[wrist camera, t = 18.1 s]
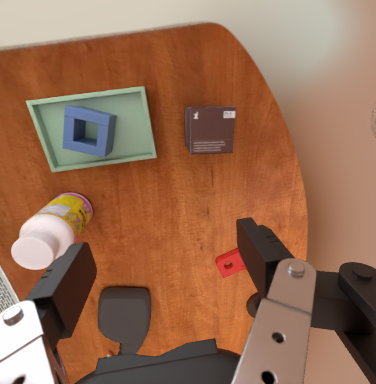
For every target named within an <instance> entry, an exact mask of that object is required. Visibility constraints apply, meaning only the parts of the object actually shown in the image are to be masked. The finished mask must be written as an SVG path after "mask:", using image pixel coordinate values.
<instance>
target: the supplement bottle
mask: <svg viewBox="0 0 376 384" xmlns="http://www.w3.org/2000/svg"><path fill="white" fill-rule="evenodd" d="M92 213H93V211H92V206H91V204H90V202H89V201H88V200H87V199H86V198H85V197H83V196H82V195H80V194H77V193H63V194H61V195H59V196H57V197H56V198H55V199H53V200H52V201H51V202H50V203H48V204H47V205H46V206H45V207H44V208H42V209H41V210H40V211H39V212H38V213H36V214H35V215H34V216H33V217H31V218H30V219H29V220H28V221H26V222H25V223H24V225H23V226H22V228H21V230H20V234H19V239H18V240H17V241H16V242H15V243H14V244H13V246H12V249H11V253H12V257H13V259H14V260H15V261H16V262H17V263H18V264H19V265H21V266H22V267H25V268H27V269H33V270H38V269H43V268H46V267H47V266H49V265H50V264H51V263H52V261H53V260H54V259H56V258H58V257H60V256H61V255H63V254H64V253H65V252H66V250H67V249H68V247H69V246H70V245H71V244H74V243H75V242H76V240H77V239H78V237H79V236H80V234H81V233H82V231H83V230H84V229H85V227H86V226H87V224H88V223H89V221H90V220H91V218H92Z"/></svg>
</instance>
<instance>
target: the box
mask: <svg viewBox="0 0 376 384" xmlns="http://www.w3.org/2000/svg"><path fill="white" fill-rule="evenodd" d="M235 114H236V107H235V106H196V107H185V141H186V147H187V149H188V150H189V152H190V154H220V153H233V144H234V128H235Z"/></svg>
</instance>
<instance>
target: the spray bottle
mask: <svg viewBox="0 0 376 384" xmlns="http://www.w3.org/2000/svg"><path fill="white" fill-rule="evenodd" d="M150 318H151V301H150V294H149V292H148V291H147V290H146V289H145V288H127V287H110V288H107V289H105V290H104V291H103V292H102V293H101V295H100V298H99V306H98V328H99V330H100V331H101V333H102V334H103V335H104V336H105V337H106V338H109V339H111V340H113V341H115V342H119V343H120V345H121V346H120V351H119V352H118V355H121V354H127V353H128V354H136V353H137V351H138V350H139V348H140V347H141V345H142V344H143V342H144V340H145V338H146V336H147V333H148V330H149V324H150ZM107 356H108V357H110V356H111V355H109V354H108V355H107Z"/></svg>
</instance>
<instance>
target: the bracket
mask: <svg viewBox="0 0 376 384" xmlns="http://www.w3.org/2000/svg"><path fill="white" fill-rule="evenodd" d="M227 262H231V264H230V265H228V266H225V264H226V263H227ZM216 265H217V267H218V269H219V271H220V273H221V274H222V276H223V278H225V277H227V276H229V275H232V274H234V273H236V272H238V271H241V270H244V269H245V270H247V268H246V266H245V264H244V262H243V260H242V258H241V256H240V254H239V250H238V248H237V249H235V250H233V251H230V252H228V253H226V254H224V255H222V256H219V257H218V258H217V259H216Z"/></svg>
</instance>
